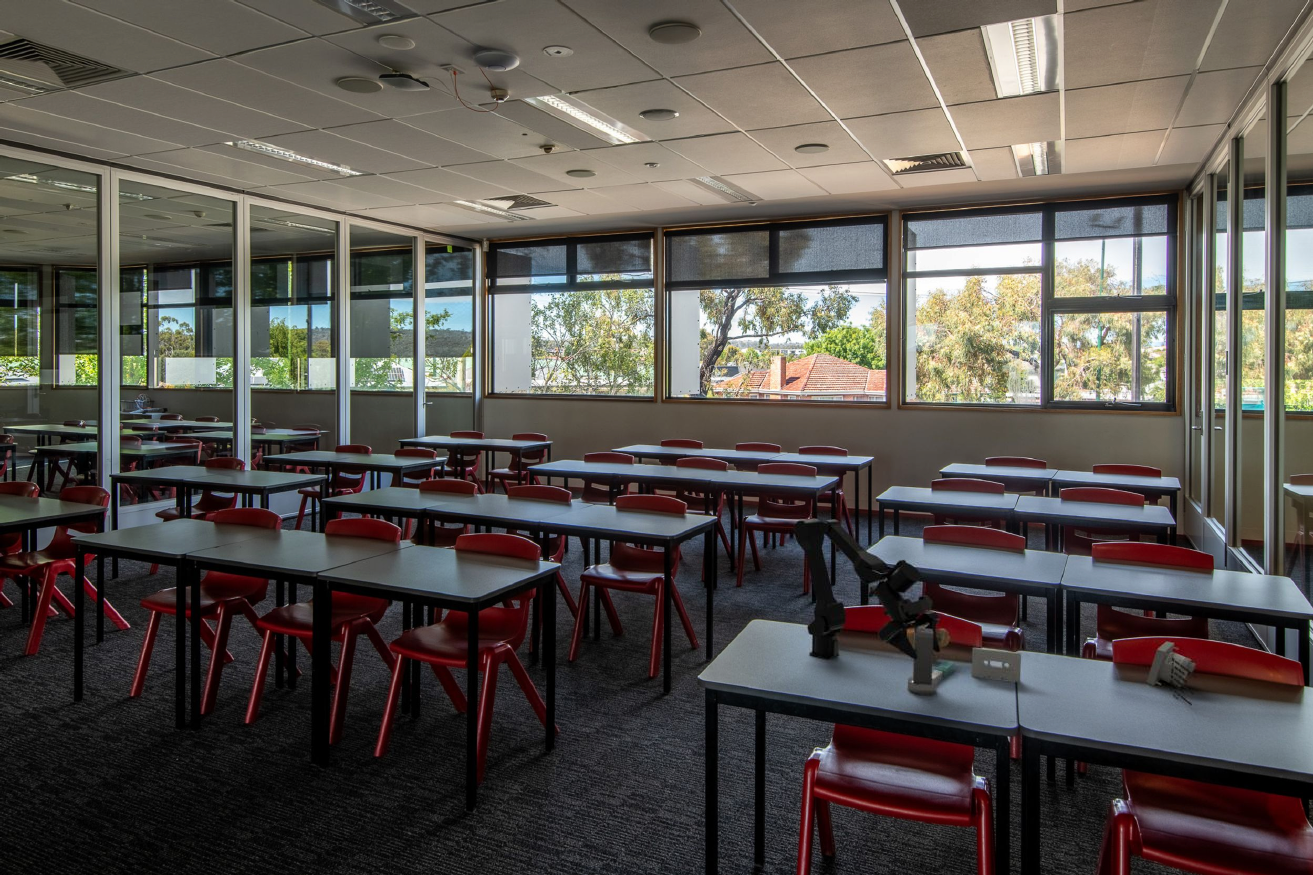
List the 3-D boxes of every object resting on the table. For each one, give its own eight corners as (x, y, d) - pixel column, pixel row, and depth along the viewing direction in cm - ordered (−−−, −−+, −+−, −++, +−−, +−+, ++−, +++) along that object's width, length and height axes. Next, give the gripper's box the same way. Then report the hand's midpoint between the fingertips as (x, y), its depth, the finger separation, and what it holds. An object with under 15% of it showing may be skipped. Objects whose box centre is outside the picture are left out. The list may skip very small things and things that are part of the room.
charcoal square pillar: (913, 683, 209) (914, 632, 209) (912, 677, 214) (914, 627, 213) (931, 684, 208) (933, 634, 207) (930, 678, 213) (932, 629, 212)
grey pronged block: (1134, 674, 224) (1136, 638, 224) (1179, 676, 223) (1182, 640, 222) (1180, 713, 198) (1182, 672, 198) (1232, 716, 197) (1234, 675, 196)
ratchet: (903, 691, 211) (903, 672, 210) (936, 666, 229) (937, 648, 229) (930, 698, 206) (931, 678, 206) (962, 671, 225) (963, 653, 225)
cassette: (1019, 680, 219) (1021, 652, 218) (1020, 683, 217) (1021, 654, 217) (971, 674, 223) (972, 646, 223) (971, 677, 221) (972, 648, 221)
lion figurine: (951, 659, 235) (952, 628, 234) (944, 664, 231) (945, 632, 230) (902, 647, 245) (903, 618, 244) (894, 652, 241) (895, 621, 240)
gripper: (888, 590, 207) (924, 645, 199) (934, 580, 218) (970, 632, 210) (863, 614, 214) (896, 668, 206) (908, 603, 225) (942, 654, 217)
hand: (927, 655), depth 209 cm, fingers open, 9 cm apart
